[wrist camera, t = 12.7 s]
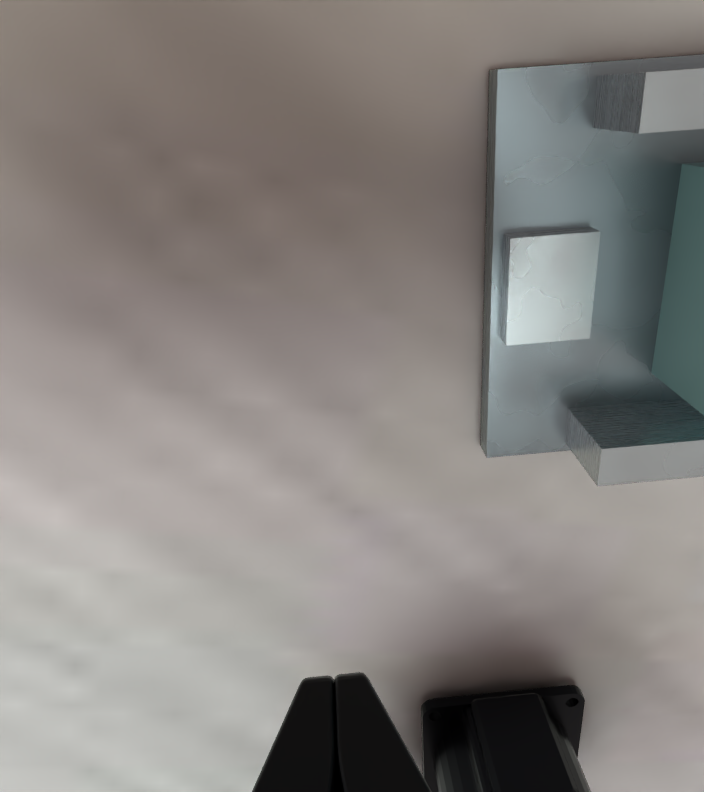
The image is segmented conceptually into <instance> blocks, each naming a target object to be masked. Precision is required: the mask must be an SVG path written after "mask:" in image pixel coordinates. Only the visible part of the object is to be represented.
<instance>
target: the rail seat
mask: <svg viewBox="0 0 704 792" xmlns="http://www.w3.org/2000/svg"><path fill="white" fill-rule="evenodd" d="M697 162H704V54H703V55H689V56H675V57H661V58H647V59H633V60H619V61H605V62H592V63H578V64H564V65H550V66H536V67H522V68H508V69H496V70H489V107H488V149H487V191H486V233H485V275H484V317H483V359H482V401H481V443H480V445H481V447H482V449H483V451H484V453H485V455H486V457H487V458H488V457H500V456H511V455H522V454H533V453H544V452H555V451H566V450H571V451H572V452H573V454H574V455H575V457H576V458H577V459H578V461H579V462H580V463H581V465H582V466H583V467H584V469H585V470H586V471H587V473H588V474H589V475H590V477H591V478H592V479H593V481H594V482H595V484H596V485H597V486H604V485H615V484H626V483H637V482H648V481H659V480H670V479H681V478H691V477H702V476H704V415H703V414H701V413H700V412H699V411H698V410H696V409H695V408H694V407H693V406H691V405H690V404H689V403H688V402H687V401H685V400H684V399H683V398H682V397H680V396H679V395H678V394H677V393H675V392H674V391H673V390H672V389H670V388H669V387H668V386H667V385H665V384H664V383H663V382H662V381H661V380H659V379H658V378H657V377H656V376H654V375H653V374H652V373H651V371H652V364H653V358H654V351H655V344H656V337H657V330H658V324H659V317H660V310H661V303H662V297H663V290H664V283H665V276H666V269H667V263H668V256H669V249H670V242H671V236H672V229H673V222H674V215H675V208H676V202H677V195H678V188H679V181H680V175H681V168H682V164H684V163H697Z"/></svg>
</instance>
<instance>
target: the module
mask: <svg viewBox="0 0 704 792" xmlns="http://www.w3.org/2000/svg"><path fill="white" fill-rule="evenodd" d="M651 373H652V374H653V375H654V376H656V377H657V378H658V379H659V380H661V381H662V382H663V383H664V384H665V385H667V386H668V387H669V388H670V389H672V390H673V391H674V392H675V393H677V394H678V395H679V396H680V397H682V398H683V399H684V400H685V401H687V402H688V403H689V404H690V405H691V406H693V407H694V408H695V409H696V410H698V411H699V412H700V413H701V414H703V415H704V162H697V163H684V164H682V168H681V175H680V181H679V188H678V195H677V202H676V208H675V215H674V222H673V229H672V236H671V242H670V249H669V256H668V263H667V269H666V276H665V283H664V290H663V297H662V303H661V310H660V317H659V324H658V330H657V337H656V344H655V351H654V358H653V364H652V371H651Z"/></svg>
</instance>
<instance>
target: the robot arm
mask: <svg viewBox="0 0 704 792" xmlns="http://www.w3.org/2000/svg"><path fill="white" fill-rule="evenodd" d="M584 702H585V700H584V697H583V694H582V692H581V690H580V689H579V688H578V687H577V686H574V685H567V686H557V687H547V688H537V689H527V690H517V691H507V692H498V693H488V694H478V695H468V696H458V697H448V698H438V699H431V700H428V701H426V702H424V704H423V705H422V707H421V725H422V761H423V776H422V774H421V772H420V770H419V768H418V767H417V765H416V763H415V761H414V759H413V758H412V756H411V754H410V752H409V750H408V749H407V747H406V745H405V743H404V742H403V740H402V738H401V736H400V734H399V733H398V731H397V729H396V727H395V725H394V724H393V722H392V720H391V718H390V717H389V715H388V713H387V711H386V709H385V708H384V706H383V704H382V702H381V700H380V699H379V697H378V695H377V693H376V692H375V690H374V688H373V686H372V684H371V683H370V681H369V679H368V677H367V676H366V675H365V674H364V673H360V672H359V673H349V674H339V675H337V676H336V677H335V679H333V678H332V677H331V676H319V677H309V678H305V679H304V680H302V682H301V683H300V685H299V687H298V690H297V692H296V694H295V696H294V698H293V701H292V703H291V705H290V707H289V710H288V712H287V714H286V716H285V719H284V721H283V723H282V725H281V728H280V730H279V732H278V734H277V737H276V739H275V741H274V743H273V746H272V748H271V750H270V752H269V755H268V757H267V759H266V761H265V764H264V766H263V768H262V770H261V773H260V775H259V777H258V779H257V782H256V784H255V786H254V788H253V791H252V792H591V791H590V788H589V786H588V783H587V781H586V778H585V776H584V773H583V771H582V768H581V766H580V764H579V761H578V759H577V756H578V748H579V741H580V733H581V725H582V718H583V710H584Z"/></svg>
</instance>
